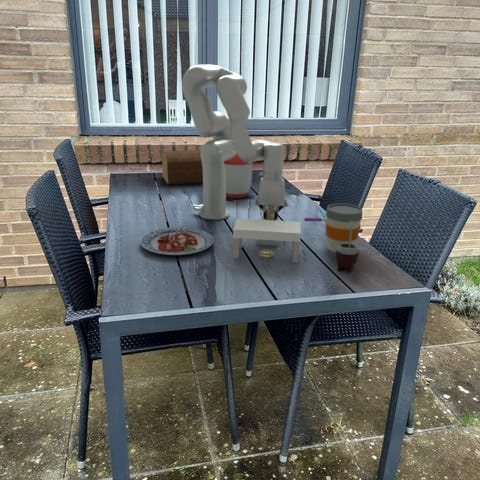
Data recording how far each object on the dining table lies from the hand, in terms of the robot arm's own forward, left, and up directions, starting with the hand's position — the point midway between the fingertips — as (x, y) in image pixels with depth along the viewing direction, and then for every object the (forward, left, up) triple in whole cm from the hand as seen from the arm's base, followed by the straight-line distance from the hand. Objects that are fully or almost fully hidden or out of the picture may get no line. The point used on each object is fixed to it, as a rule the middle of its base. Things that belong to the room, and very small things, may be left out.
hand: (270, 220), depth 186 cm
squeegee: (+19, +10, -4) cm, 22 cm away
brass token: (0, -28, -3) cm, 28 cm away
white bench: (0, -28, -3) cm, 28 cm away
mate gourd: (+26, -35, -3) cm, 44 cm away
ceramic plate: (-32, -24, -3) cm, 40 cm away
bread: (-45, +67, -3) cm, 81 cm away
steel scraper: (0, -9, -3) cm, 9 cm away
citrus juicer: (-18, +42, -3) cm, 46 cm away
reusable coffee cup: (+26, -18, -3) cm, 32 cm away
